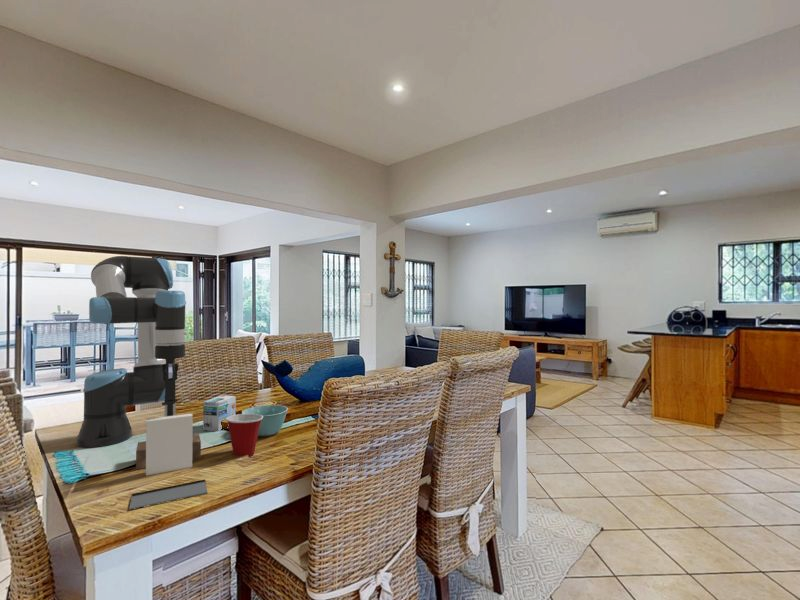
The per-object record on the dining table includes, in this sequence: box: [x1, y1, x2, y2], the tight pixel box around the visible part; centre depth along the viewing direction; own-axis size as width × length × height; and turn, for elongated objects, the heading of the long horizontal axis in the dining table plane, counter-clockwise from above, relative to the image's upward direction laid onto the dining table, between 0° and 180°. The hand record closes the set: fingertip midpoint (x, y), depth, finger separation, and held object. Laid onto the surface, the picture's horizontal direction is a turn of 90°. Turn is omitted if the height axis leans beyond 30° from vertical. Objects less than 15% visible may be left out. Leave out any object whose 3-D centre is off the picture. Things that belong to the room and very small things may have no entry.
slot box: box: [135, 432, 202, 471], centre depth 117 cm, size 16×8×6 cm, turn 120°
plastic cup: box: [226, 413, 263, 458], centre depth 123 cm, size 11×11×12 cm
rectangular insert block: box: [145, 413, 194, 476], centre depth 110 cm, size 11×2×15 cm, turn 120°
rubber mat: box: [129, 479, 208, 511], centre depth 103 cm, size 16×20×1 cm
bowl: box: [241, 404, 289, 437], centre depth 144 cm, size 16×16×8 cm
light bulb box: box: [202, 394, 237, 432], centre depth 150 cm, size 11×7×11 cm, turn 168°
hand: (169, 426), depth 114 cm, fingers closed
